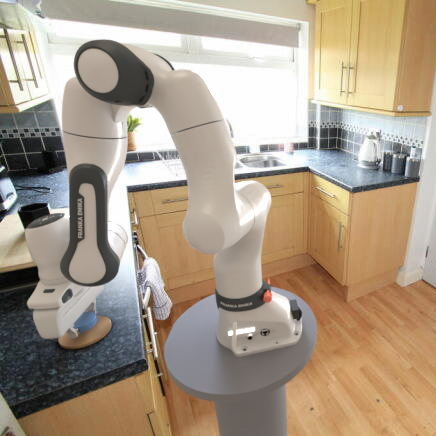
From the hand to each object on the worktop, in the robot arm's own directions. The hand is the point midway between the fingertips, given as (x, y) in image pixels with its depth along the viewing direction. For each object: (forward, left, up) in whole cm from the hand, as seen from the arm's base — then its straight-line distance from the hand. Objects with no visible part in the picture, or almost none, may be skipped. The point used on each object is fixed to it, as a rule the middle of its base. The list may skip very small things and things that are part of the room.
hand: (83, 325), depth 81 cm
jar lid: (0, 0, +2) cm, 2 cm away
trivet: (0, 0, -2) cm, 2 cm away
